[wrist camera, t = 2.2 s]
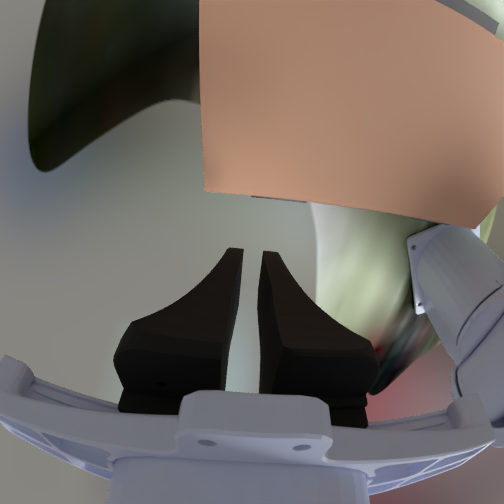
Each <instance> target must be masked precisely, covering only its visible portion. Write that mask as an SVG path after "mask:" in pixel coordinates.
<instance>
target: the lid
mask: <svg viewBox="0 0 504 504" xmlns="http://www.w3.org/2000/svg"><path fill="white" fill-rule="evenodd" d="M498 24H499V23H498V22H496V21H495V20H494V19H492V18H491V17H489V16H488V15H486V14H485V13H483V12H482V11H480V10H479V9H477V8H476V7H474V6H472V5H471V4H469V3H467V2H466V1H464V0H199V63H200V102H201V128H202V147H203V165H204V182H205V192H218V193H230V194H243V195H252V197H256V198H267V199H276V200H285V201H295V202H303V203H306V202H316V203H323V204H331V205H338V206H345V207H352V208H359V209H366V210H372V211H379V212H385V213H391V214H397V215H403V216H409V217H412V218H413V219H417V220H423V221H428V222H434V223H439V224H444V225H450V224H451V225H456V226H461V227H465V228H470V229H476V228H477V227H478V225H479V224H480V223H481V222H482V221H483V220H484V219H485V217H486V216H487V215H488V214H489V213H490V212H491V210H492V209H493V208H494V207H495V205H496V204H497V203H498V202H499V200H500V199H501V198H502V197H503V196H504V41H502V40H501V39H499V38H498V37H497V36H495V33H496V30H497V27H498Z"/></svg>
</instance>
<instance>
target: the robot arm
mask: <svg viewBox="0 0 504 504" xmlns="http://www.w3.org/2000/svg"><path fill="white" fill-rule="evenodd" d="M413 245H415V246H414V247H413V248H412V246H413ZM407 248H408V254H409V261H410V269H411V277H412V285H413V295H414V306H415V312H416V314H421V313H424V312H426V314H427V316H428V318H429V319H430V321H431V323H432V325H433V327H434V329H435V331H436V332H437V334H438V336H439V338H440V340H441V342H442V344H443V346H444V348H445V350H446V351H447V353H448V354H449V355H450V356H451V357H452V358H453V360H454V362H455V364H456V367H455V368H454V369H453V371H452V373H451V376H450V388H451V394H452V398H453V402H452V403H451V404H450V405H449V406H448V408H447V409H445V410H441V411H436V412H432V413H426V414H421V415H416V416H411V417H404V418H398V419H391V420H384V421H375V422H368V421H367V416H366V411H365V407H366V406H367V398H366V394H367V392H368V391H369V389H370V388H371V386H372V385H373V383H374V382H375V380H376V379H377V377H378V375H379V373H380V365H379V362H378V359H377V356H376V353H375V351H374V348H373V346H372V344H371V342H370V341H369V340H367V339H365V338H363V337H362V336H360V335H358V334H356V333H354V332H352V331H351V330H349V329H347V328H346V327H344V326H343V325H341V324H340V323H338V322H337V321H336V320H334V319H333V318H332V317H330V316H329V315H328V314H327V313H325V312H324V311H323V310H322V309H321V308H320V307H318V306H317V305H316V304H315V303H314V302H313V301H312V300H311V299H310V298H309V297H308V296H307V294H306V293H305V292H304V291H303V290H302V288H301V287H300V286H299V285H298V283H297V282H296V281H295V279H294V278H293V276H292V275H291V273H290V272H289V270H288V269H287V267H286V265H285V264H284V262H283V260H282V258H281V257H280V255H279V253H278V252H271V251H263V256H262V265H261V272H260V279H259V286H258V304H257V305H258V306H257V311H258V325H259V338H260V356H261V358H260V383H259V394H255V393H241V392H230V391H225V387H226V375H227V366H228V356H229V349H230V343H231V339H232V335H233V329H234V325H235V320H236V315H237V311H238V306H239V295H240V285H241V273H242V262H243V251H244V249H239V248H228V249H227V250H226V252H225V254H224V255H223V257H222V258H221V259H220V261H219V262H218V264H217V265H216V266H215V267H214V268H213V270H212V271H211V272H210V273H209V274H208V275H207V276H206V277H205V278H204V279H203V280H202V281H201V282H200V283H199V284H198V285H197V286H196V287H195V288H193V289H192V290H191V291H190V292H188V293H187V294H186V295H185V296H183V297H182V298H180V299H179V300H177V301H176V302H174V303H173V304H171V305H169V306H168V307H165V308H164V309H162V310H160V311H158V312H155V313H153V314H151V315H148V316H146V317H143V318H141V319H138V320H135V321H133V322H131V324H130V325H129V327H128V329H127V330H126V332H125V333H124V335H123V336H122V338H121V340H120V343H119V345H118V348H117V350H116V352H115V355H114V359H113V362H114V366H115V369H116V372H117V374H118V376H119V379H120V381H121V383H122V386H123V388H124V389H123V392H122V395H121V398H120V401H119V404H116V403H112V402H108V401H104V400H101V399H97V398H94V397H91V396H87V395H84V394H81V393H78V392H75V391H72V390H69V389H66V388H63V387H60V386H57V385H55V384H52V383H49V382H47V381H44V380H42V379H39V378H36V377H35V376H34V374H33V372H32V371H31V369H30V368H29V367H28V366H27V365H26V364H25V363H23V362H22V361H19V360H16V359H14V358H12V357H10V356H8V355H4V356H3V358H2V360H1V361H0V423H1V424H2V425H3V426H4V427H5V428H6V429H8V430H9V431H10V432H11V433H13V434H14V435H16V436H18V437H20V438H22V439H23V440H25V441H27V442H29V443H30V444H32V445H34V446H36V447H38V448H40V449H42V450H44V451H45V452H47V453H49V454H51V455H53V456H55V457H57V458H59V459H61V460H63V461H65V462H67V463H69V464H72V465H74V466H76V467H78V468H81V469H83V470H85V471H87V472H90V473H93V474H95V475H97V476H100V477H102V478H105V479H108V480H110V481H111V482H110V486H109V490H108V495H107V499H106V503H105V504H370V502H369V495H373V494H377V493H380V492H384V491H388V490H392V489H395V488H398V487H402V486H405V485H408V484H411V483H414V482H417V481H420V480H423V479H426V478H428V477H431V476H434V475H437V474H440V473H442V472H445V471H447V470H450V469H453V468H455V467H458V466H460V465H462V464H463V463H465V462H466V461H468V460H469V459H471V458H472V457H473V456H475V455H476V454H478V453H479V452H481V451H482V450H483V449H484V448H486V447H487V446H489V445H490V444H491V445H492V446H493V447H504V262H503V261H501V259H500V258H499V257H498V256H497V255H496V254H495V253H494V252H493V251H492V250H491V249H490V248H489V247H488V246H487V245H486V244H485V243H484V242H483V241H482V240H481V239H480V224H479V225H478V227H477V228H476V229H470V228H465V227H461V226H456V225H451V224H450V225H444V224H439V225H436V226H434V227H431V228H429V229H427V230H424V231H422V232H419V233H417V234H414V235H412V236H410V237H409V238H408V239H407ZM418 303H419V304H418Z"/></svg>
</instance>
